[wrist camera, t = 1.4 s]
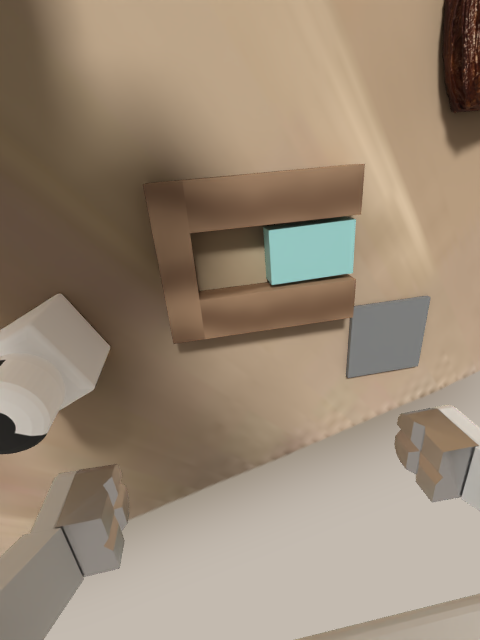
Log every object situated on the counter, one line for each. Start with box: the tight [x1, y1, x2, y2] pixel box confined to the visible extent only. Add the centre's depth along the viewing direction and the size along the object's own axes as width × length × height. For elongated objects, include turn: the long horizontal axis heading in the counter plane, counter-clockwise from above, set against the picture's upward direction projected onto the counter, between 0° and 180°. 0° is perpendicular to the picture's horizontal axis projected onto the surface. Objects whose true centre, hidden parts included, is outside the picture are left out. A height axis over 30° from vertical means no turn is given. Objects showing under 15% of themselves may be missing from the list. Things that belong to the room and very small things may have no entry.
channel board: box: [143, 164, 365, 344], centre depth 30 cm, size 14×18×2 cm
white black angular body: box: [0, 294, 110, 454], centre depth 26 cm, size 7×7×12 cm
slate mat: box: [346, 296, 430, 378], centre depth 37 cm, size 9×9×1 cm
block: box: [263, 216, 356, 285], centre depth 31 cm, size 5×8×2 cm, turn 96°
